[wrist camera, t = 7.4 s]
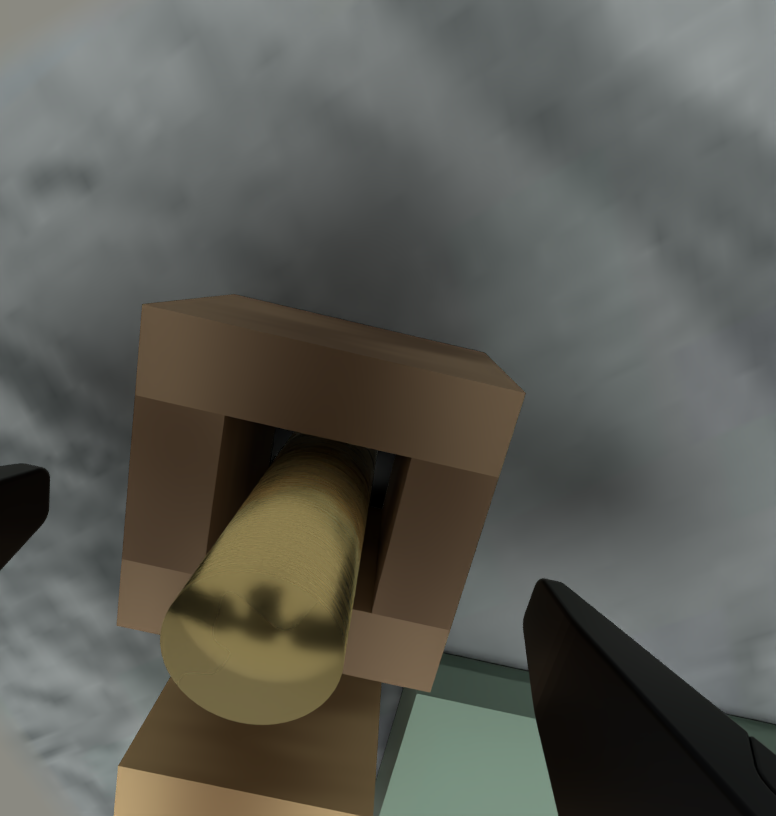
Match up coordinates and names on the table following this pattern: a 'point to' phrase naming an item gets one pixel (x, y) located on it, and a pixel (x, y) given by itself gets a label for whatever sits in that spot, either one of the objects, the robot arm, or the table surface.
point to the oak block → (254, 760)
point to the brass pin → (276, 589)
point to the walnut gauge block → (324, 417)
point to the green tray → (475, 747)
